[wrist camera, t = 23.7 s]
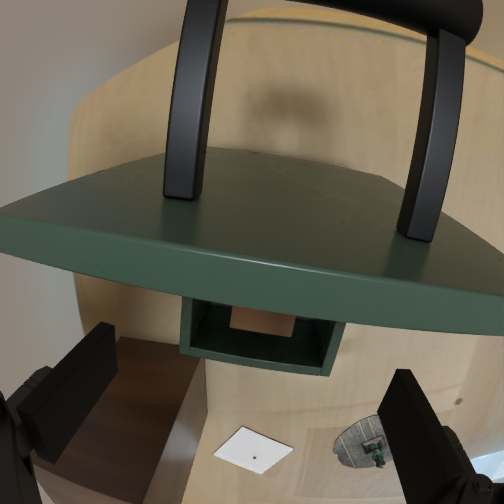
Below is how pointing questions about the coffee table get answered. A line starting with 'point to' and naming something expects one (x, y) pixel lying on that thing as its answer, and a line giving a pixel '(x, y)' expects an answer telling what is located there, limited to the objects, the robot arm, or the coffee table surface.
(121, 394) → the plinth
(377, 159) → the coffee table surface
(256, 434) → the coaster
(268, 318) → the block
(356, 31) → the coffee table surface
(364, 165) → the coffee table surface
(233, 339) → the green box
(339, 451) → the sculpture
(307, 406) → the coffee table surface
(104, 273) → the box lid
